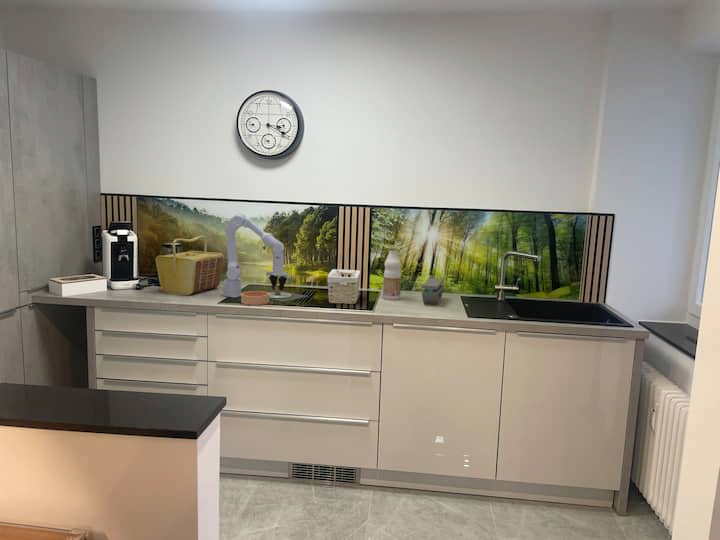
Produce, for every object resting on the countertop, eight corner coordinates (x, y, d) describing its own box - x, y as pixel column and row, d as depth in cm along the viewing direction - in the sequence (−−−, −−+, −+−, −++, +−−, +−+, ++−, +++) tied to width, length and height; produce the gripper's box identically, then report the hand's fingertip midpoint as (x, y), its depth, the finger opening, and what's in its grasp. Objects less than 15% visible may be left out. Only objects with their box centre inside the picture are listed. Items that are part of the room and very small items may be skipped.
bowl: (235, 302, 294) (235, 293, 294) (255, 298, 306) (255, 290, 305) (255, 306, 286) (255, 297, 286) (274, 302, 298) (274, 293, 297)
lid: (257, 296, 308) (257, 285, 307) (274, 292, 321) (274, 282, 320) (280, 299, 301) (280, 289, 300) (296, 295, 314) (297, 285, 313)
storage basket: (356, 305, 297) (357, 276, 295) (325, 303, 298) (326, 275, 296) (360, 296, 321) (361, 270, 319) (331, 294, 322) (331, 268, 320)
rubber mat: (252, 296, 310) (252, 295, 310) (278, 291, 326) (278, 290, 326) (283, 302, 297) (283, 301, 297) (308, 297, 313) (308, 295, 313)
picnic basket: (194, 297, 304) (193, 240, 300) (154, 292, 313) (153, 237, 309) (225, 288, 331) (225, 236, 327) (188, 284, 340) (187, 233, 336)
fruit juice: (383, 300, 311) (385, 248, 307) (382, 296, 320) (384, 246, 316) (400, 300, 311) (403, 249, 307) (399, 297, 321) (401, 247, 316)
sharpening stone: (436, 307, 298) (437, 286, 296) (421, 305, 300) (422, 285, 298) (442, 298, 321) (443, 279, 320) (428, 297, 324) (429, 278, 322)
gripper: (262, 264, 309) (262, 289, 311) (284, 267, 302) (284, 292, 304) (270, 263, 315) (270, 287, 317) (292, 265, 308) (292, 290, 310)
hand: (278, 289), depth 311 cm, fingers open, 4 cm apart
